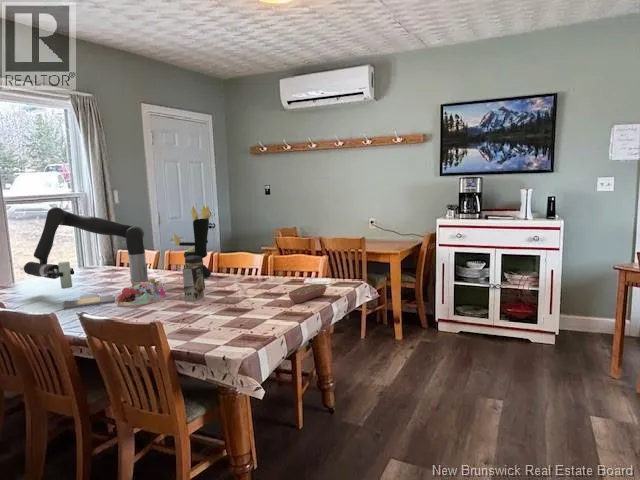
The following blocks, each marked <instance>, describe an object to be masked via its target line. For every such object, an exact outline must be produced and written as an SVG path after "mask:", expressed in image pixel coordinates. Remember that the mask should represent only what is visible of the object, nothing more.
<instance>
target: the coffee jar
mask: <svg viewBox="0 0 640 480" xmlns="http://www.w3.org/2000/svg"><path fill="white" fill-rule="evenodd" d="M184 264H185V268H186V267H189V266H202V274H203V265H204V258H202V257H201V256H194V255H192V256H187V257H186V258H185V257H184ZM203 287H204V289H206V283H205V278H204V275H203Z"/></svg>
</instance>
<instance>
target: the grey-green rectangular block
mask: <svg viewBox="0 0 640 480" xmlns="http://www.w3.org/2000/svg"><path fill="white" fill-rule="evenodd" d="M57 265H58V266H59V272H62V273H63V277H59V280H60V288H61V289H63V290H64V289H71V288H73V282H72V274H71V272H70V267H71V266H70V265H71V264H70V262H69V261H62V262H58V264H57Z"/></svg>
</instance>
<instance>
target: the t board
mask: <svg viewBox="0 0 640 480" xmlns="http://www.w3.org/2000/svg"><path fill="white" fill-rule="evenodd" d="M112 303H115V299H114V296H113V294H109V295H101V296H98V292H95V293H87V294H80V298H79V299H74V300H73V299H72V300H67V301H66V300H65V301H64V303H63V307H62V308H63V310H69V309H76V308H77V309H78V308H84V307H83V306H85V307H90V305H92V306H97V305H104V304H112Z"/></svg>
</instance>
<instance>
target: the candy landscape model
mask: <svg viewBox="0 0 640 480" xmlns="http://www.w3.org/2000/svg"><path fill="white" fill-rule="evenodd" d="M159 283H160V280H158V281H157V280H156V279H155V278H150V280H149V281H148V282H140V283H138V282H134V283H131V285H132V286H131V287H124V288H122V290H121V294H119V295H118V297H117V301H116V306H117V307H118V306H120V307H131V306H132V307H134V306H143V305H149V304H152V303H157V302H158V301H159V299H162V298H164V297H166V295H167V294H166V290H165V287H164V285H165V284H164V283H163V282H161V283H160V286H159Z"/></svg>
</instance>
